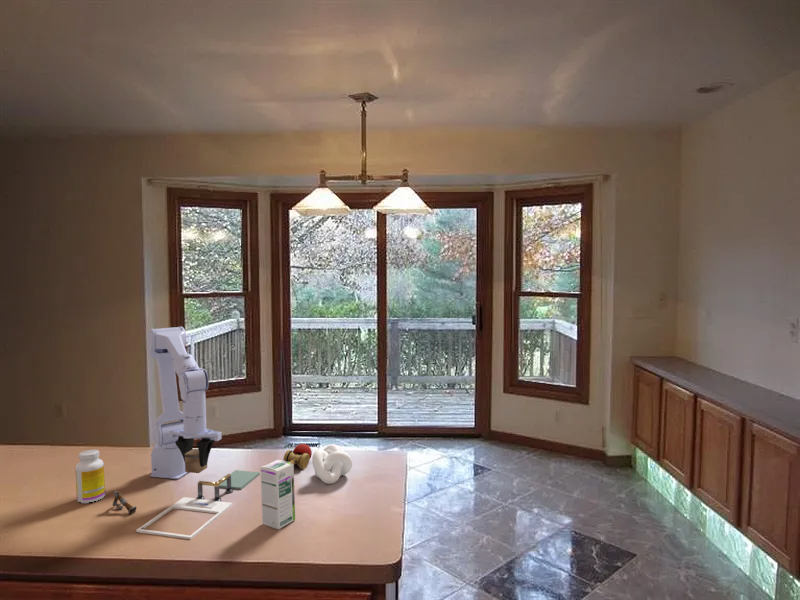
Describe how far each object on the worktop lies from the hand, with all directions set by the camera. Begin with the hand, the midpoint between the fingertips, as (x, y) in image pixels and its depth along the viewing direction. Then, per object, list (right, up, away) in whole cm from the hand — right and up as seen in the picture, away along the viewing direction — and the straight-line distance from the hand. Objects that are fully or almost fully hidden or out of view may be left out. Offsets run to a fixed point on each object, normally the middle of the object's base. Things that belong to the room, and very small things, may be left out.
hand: (196, 464), depth 144 cm
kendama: (+22, -8, +20) cm, 31 cm away
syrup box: (+25, -10, -13) cm, 30 cm away
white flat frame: (+2, -11, -11) cm, 15 cm away
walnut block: (0, -1, 0) cm, 1 cm away
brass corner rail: (+5, -9, +1) cm, 10 cm away
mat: (+8, -8, +12) cm, 16 cm away
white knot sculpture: (+35, -8, +13) cm, 39 cm away
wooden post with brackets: (-16, -10, -7) cm, 20 cm away
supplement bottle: (-28, -9, 0) cm, 30 cm away
